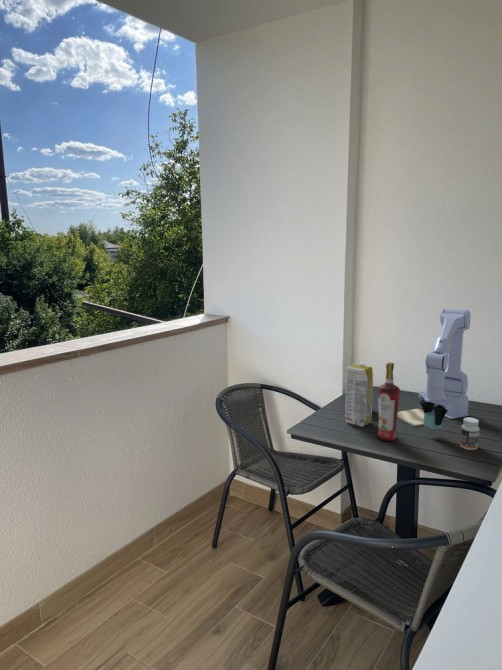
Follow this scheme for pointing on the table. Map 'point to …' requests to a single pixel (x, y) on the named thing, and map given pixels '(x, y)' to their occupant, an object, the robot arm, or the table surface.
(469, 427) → the pill bottle
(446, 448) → the table surface
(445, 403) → the robot arm
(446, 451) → the table surface
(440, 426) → the teal cube
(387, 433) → the liquor
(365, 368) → the juice carton
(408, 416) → the birch board
